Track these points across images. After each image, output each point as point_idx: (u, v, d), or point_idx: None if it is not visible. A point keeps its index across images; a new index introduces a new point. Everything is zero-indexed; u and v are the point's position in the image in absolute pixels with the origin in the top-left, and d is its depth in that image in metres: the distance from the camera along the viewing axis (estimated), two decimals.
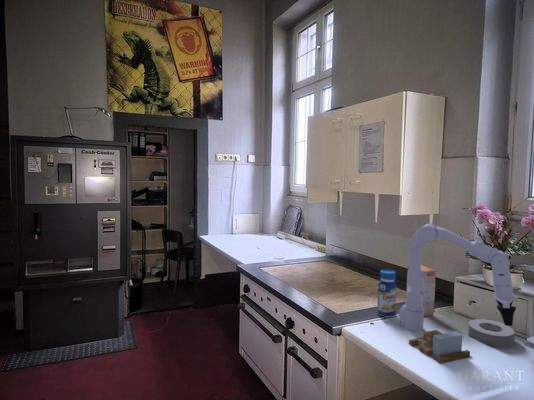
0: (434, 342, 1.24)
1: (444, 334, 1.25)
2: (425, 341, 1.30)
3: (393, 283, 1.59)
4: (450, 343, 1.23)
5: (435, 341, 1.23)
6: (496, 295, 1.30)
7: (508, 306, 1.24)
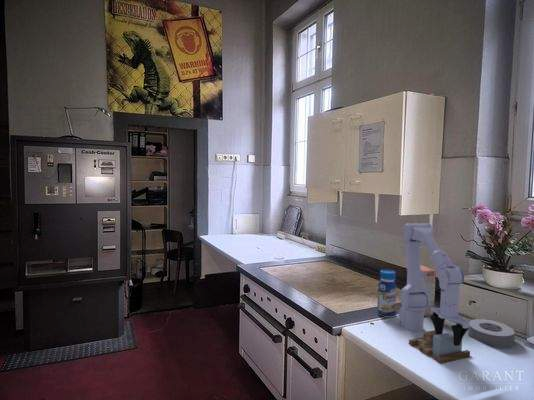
0: (434, 342, 1.24)
1: (444, 334, 1.25)
2: (425, 341, 1.30)
3: (393, 283, 1.59)
4: (450, 343, 1.23)
5: (435, 341, 1.23)
6: None
7: None
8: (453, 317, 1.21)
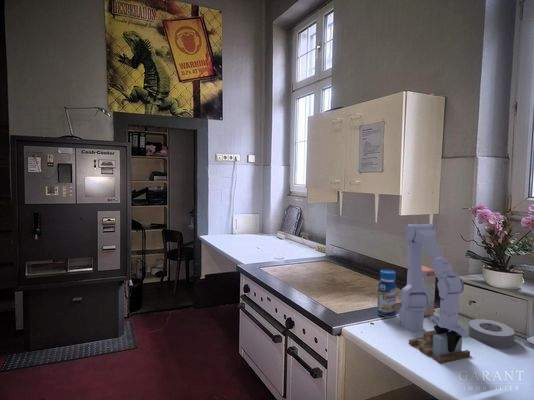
0: (434, 342, 1.24)
1: (444, 334, 1.25)
2: (425, 341, 1.30)
3: (393, 283, 1.59)
4: None
5: (435, 341, 1.23)
6: None
7: None
8: (452, 326, 1.21)
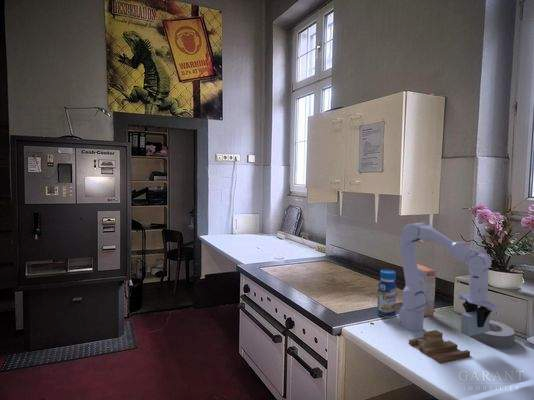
0: (462, 320, 1.27)
1: (472, 312, 1.28)
2: (425, 341, 1.30)
3: (393, 283, 1.59)
4: None
5: (463, 319, 1.26)
6: None
7: None
8: (482, 302, 1.24)
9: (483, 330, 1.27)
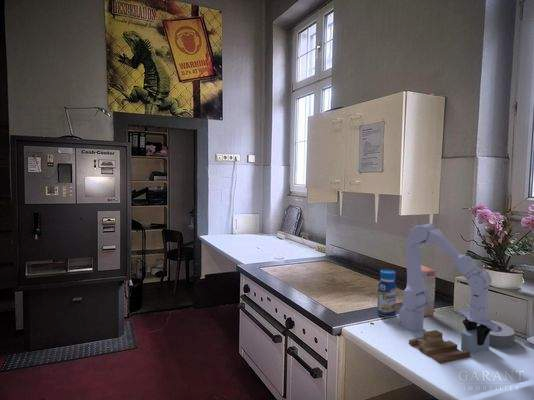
0: (463, 339, 1.27)
1: (472, 331, 1.29)
2: (425, 341, 1.30)
3: (393, 283, 1.59)
4: None
5: (464, 338, 1.27)
6: None
7: None
8: (482, 320, 1.25)
9: (483, 349, 1.28)
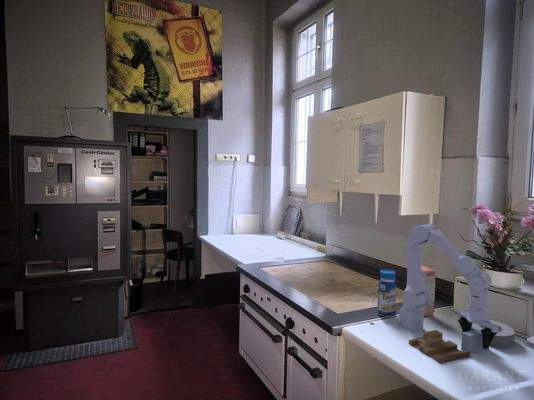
0: (463, 339, 1.28)
1: (472, 331, 1.29)
2: (425, 341, 1.30)
3: (393, 283, 1.59)
4: (479, 340, 1.27)
5: (464, 338, 1.27)
6: None
7: None
8: (482, 321, 1.25)
9: (483, 349, 1.28)
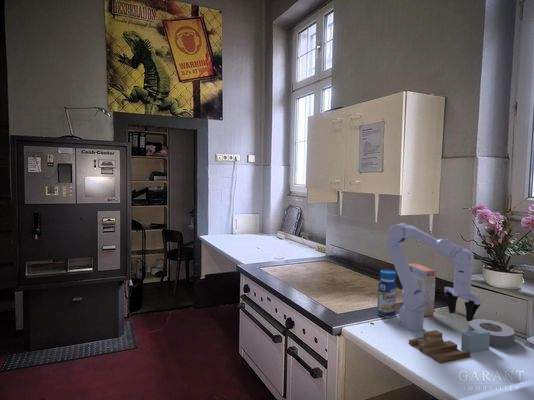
0: (463, 339, 1.28)
1: (472, 331, 1.29)
2: (425, 341, 1.30)
3: (393, 283, 1.59)
4: (479, 340, 1.27)
5: (464, 338, 1.27)
6: None
7: None
8: (466, 295, 1.31)
9: (483, 349, 1.28)
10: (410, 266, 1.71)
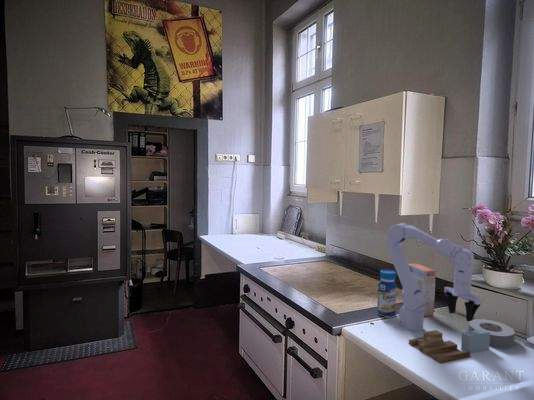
0: (463, 339, 1.28)
1: (472, 331, 1.29)
2: (425, 341, 1.30)
3: (393, 283, 1.59)
4: (479, 340, 1.27)
5: (464, 338, 1.27)
6: None
7: None
8: (466, 295, 1.31)
9: (483, 349, 1.28)
10: (410, 266, 1.71)
